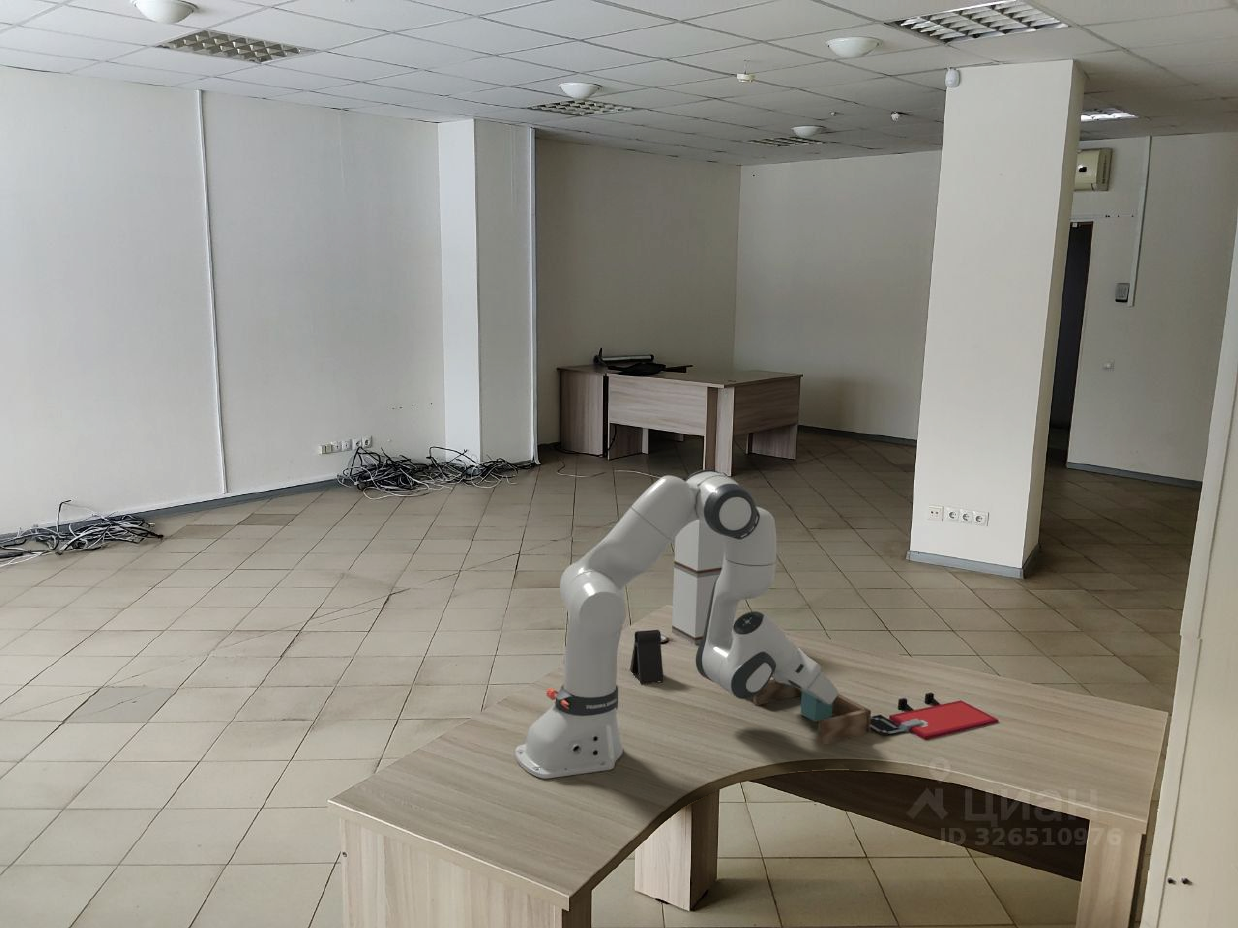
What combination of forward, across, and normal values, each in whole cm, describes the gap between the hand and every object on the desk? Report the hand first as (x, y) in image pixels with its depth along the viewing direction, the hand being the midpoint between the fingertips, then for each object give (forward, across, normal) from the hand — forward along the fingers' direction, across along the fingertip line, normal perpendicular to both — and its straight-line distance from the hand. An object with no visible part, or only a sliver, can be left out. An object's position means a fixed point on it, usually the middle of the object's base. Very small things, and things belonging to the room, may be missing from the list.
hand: (816, 695), depth 220 cm
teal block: (+4, 0, -3) cm, 5 cm away
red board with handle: (+19, +14, +11) cm, 26 cm away
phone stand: (-12, -38, -20) cm, 44 cm away
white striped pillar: (+8, -56, +1) cm, 57 cm away
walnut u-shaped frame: (+2, 0, -5) cm, 5 cm away
